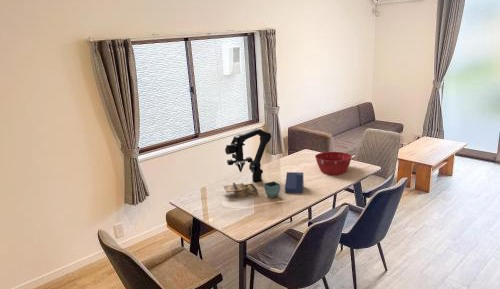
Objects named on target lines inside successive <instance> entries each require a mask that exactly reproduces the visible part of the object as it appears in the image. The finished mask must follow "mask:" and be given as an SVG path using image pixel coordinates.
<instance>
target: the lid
mask: <svg viewBox="0 0 500 289" xmlns="http://www.w3.org/2000/svg"><path fill="white" fill-rule="evenodd" d="M223 188H224V190H225V192H226V193H227V194H229V193H234V192H235V191H245V190H247V188H246V187H245V184H244V183H241V182H240V183H236V182H233V183H232V184H229V185H223Z"/></svg>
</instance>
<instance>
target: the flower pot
mask: <svg viewBox="0 0 500 289" xmlns="http://www.w3.org/2000/svg"><path fill="white" fill-rule="evenodd" d="M263 189H264V191H265V194H266V195H267V196H268V197H269V198H276V197H278V196H279V194H280V191H281V183H278V182H276V181H269V182H265V183H263Z"/></svg>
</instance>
